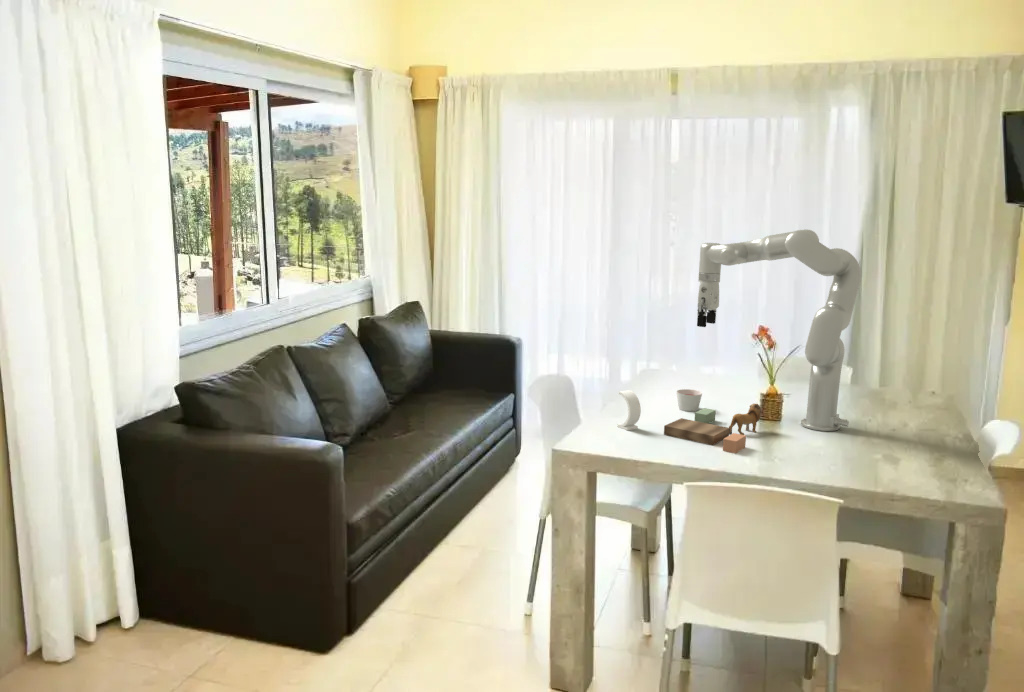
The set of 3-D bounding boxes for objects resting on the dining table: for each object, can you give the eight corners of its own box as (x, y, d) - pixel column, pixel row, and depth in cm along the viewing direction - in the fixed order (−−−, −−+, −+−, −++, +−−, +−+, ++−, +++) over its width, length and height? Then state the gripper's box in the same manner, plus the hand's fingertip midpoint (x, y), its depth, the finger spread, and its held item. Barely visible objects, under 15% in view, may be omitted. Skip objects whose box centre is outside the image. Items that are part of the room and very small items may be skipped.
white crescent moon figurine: (627, 424, 284) (629, 390, 282) (639, 429, 280) (641, 393, 277) (617, 426, 282) (618, 391, 280) (629, 431, 277) (630, 395, 275)
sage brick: (704, 419, 294) (704, 408, 294) (714, 421, 292) (715, 410, 291) (694, 424, 288) (695, 412, 287) (705, 426, 286) (706, 414, 285)
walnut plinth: (728, 436, 273) (729, 427, 273) (712, 445, 264) (713, 436, 263) (680, 426, 283) (681, 418, 283) (663, 434, 274) (664, 425, 273)
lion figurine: (750, 427, 285) (752, 401, 284) (763, 430, 281) (765, 404, 280) (723, 434, 276) (725, 407, 274) (737, 438, 272) (739, 411, 270)
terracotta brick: (732, 445, 265) (733, 433, 264) (745, 447, 263) (746, 435, 262) (722, 451, 259) (723, 438, 258) (735, 454, 257) (736, 441, 256)
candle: (685, 404, 313) (686, 388, 312) (706, 409, 306) (707, 392, 305) (670, 408, 306) (671, 391, 305) (691, 413, 300) (693, 396, 299)
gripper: (711, 280, 294) (708, 329, 297) (727, 276, 309) (724, 323, 312) (690, 278, 298) (687, 326, 301) (707, 275, 313) (704, 320, 316)
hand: (706, 324), depth 307 cm, fingers open, 9 cm apart
